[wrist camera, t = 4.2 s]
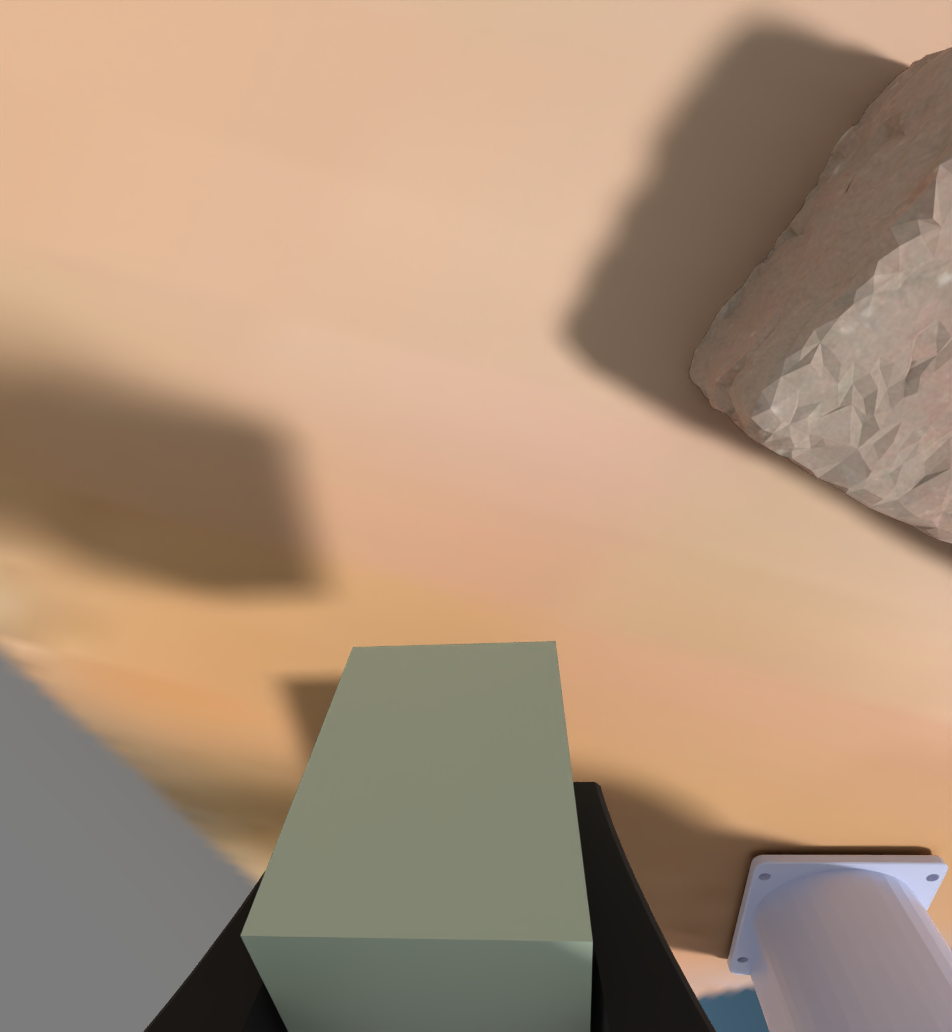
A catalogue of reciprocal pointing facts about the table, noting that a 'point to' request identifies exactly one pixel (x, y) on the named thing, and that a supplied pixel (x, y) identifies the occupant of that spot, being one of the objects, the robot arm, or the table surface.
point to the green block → (432, 853)
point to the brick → (857, 315)
